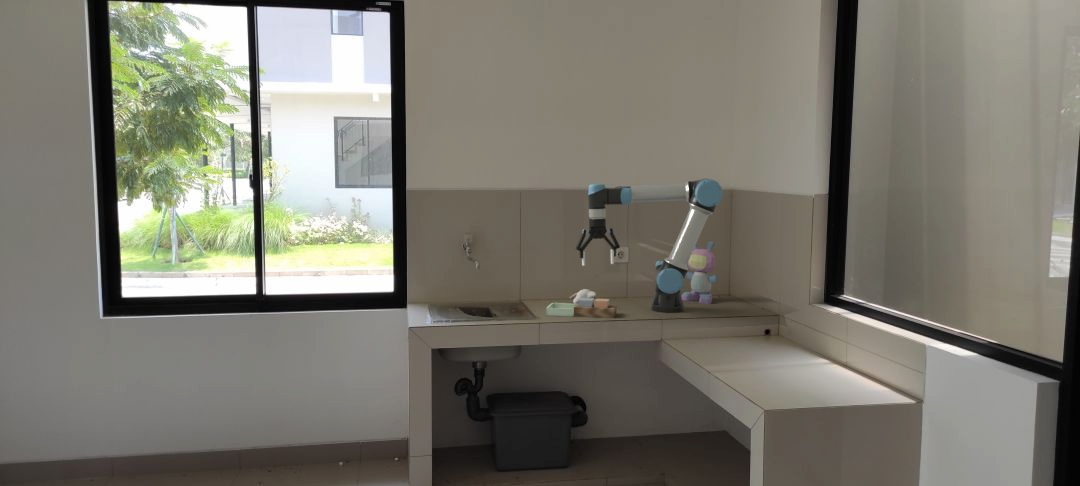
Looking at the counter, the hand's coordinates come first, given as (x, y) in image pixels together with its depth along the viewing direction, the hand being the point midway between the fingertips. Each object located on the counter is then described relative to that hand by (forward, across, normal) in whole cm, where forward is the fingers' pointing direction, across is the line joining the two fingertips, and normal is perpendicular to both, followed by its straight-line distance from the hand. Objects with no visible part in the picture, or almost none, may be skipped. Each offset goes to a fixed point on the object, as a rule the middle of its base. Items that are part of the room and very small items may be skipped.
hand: (598, 264), depth 357 cm
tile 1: (+18, +6, 0) cm, 19 cm away
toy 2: (+24, -59, -21) cm, 67 cm away
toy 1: (+23, +3, -18) cm, 29 cm away
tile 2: (+19, 0, +3) cm, 19 cm away
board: (+23, +2, +2) cm, 23 cm away
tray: (+22, +16, -5) cm, 28 cm away
